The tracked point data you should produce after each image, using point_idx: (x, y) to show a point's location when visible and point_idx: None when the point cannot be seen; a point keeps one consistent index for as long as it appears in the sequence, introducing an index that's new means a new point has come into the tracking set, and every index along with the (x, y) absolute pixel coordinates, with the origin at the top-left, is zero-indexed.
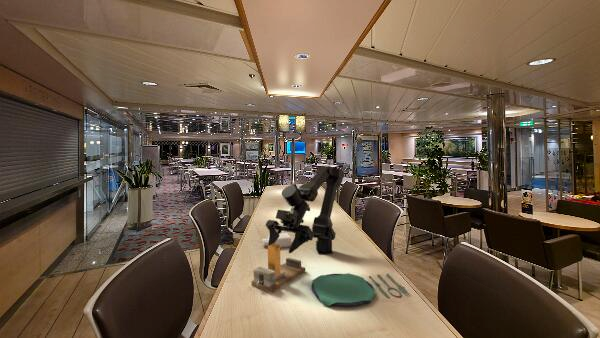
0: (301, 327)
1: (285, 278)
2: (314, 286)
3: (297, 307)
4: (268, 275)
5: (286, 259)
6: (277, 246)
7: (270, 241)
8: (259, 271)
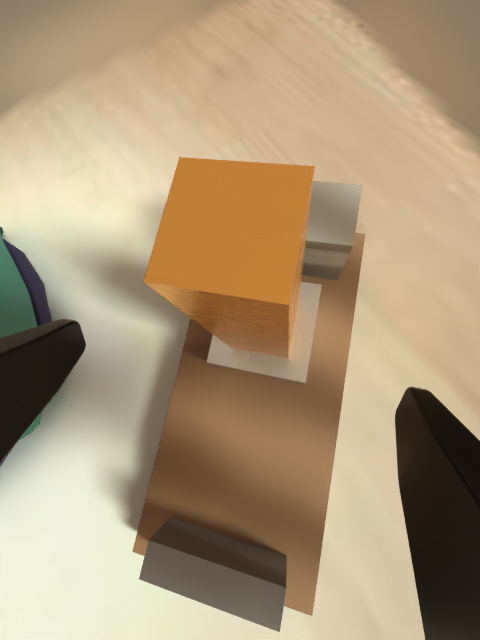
0: (50, 108)
1: (195, 336)
2: (33, 315)
3: (86, 184)
4: None
5: (280, 582)
6: (163, 223)
7: (455, 458)
8: None
